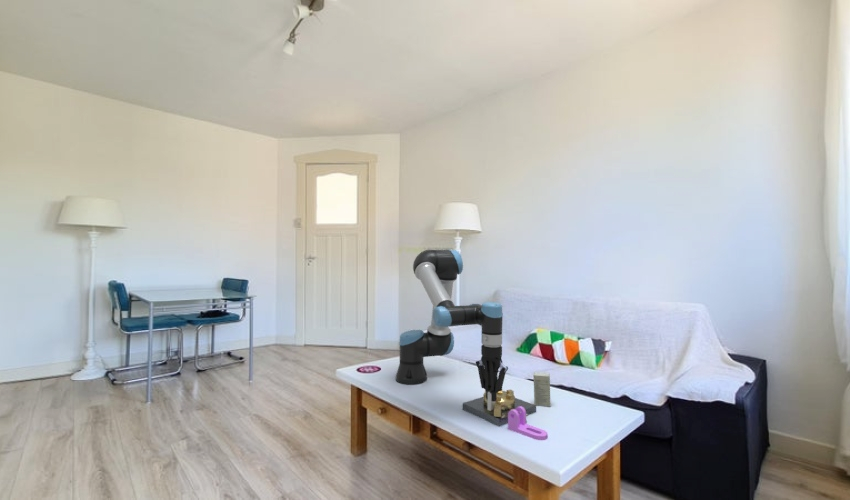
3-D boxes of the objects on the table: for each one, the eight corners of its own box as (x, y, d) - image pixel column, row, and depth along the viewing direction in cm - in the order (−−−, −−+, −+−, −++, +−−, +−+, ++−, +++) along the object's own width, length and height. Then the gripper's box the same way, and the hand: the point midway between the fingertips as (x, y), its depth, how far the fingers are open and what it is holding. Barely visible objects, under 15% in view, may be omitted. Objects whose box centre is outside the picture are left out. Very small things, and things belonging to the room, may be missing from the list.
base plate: (462, 409, 151) (462, 403, 151) (499, 397, 164) (498, 391, 164) (506, 429, 133) (506, 422, 133) (544, 414, 146) (543, 408, 146)
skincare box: (550, 403, 158) (550, 373, 158) (550, 407, 154) (550, 376, 154) (534, 401, 160) (534, 371, 160) (533, 405, 156) (533, 374, 156)
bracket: (508, 429, 134) (507, 409, 134) (517, 424, 138) (516, 404, 138) (542, 442, 125) (541, 420, 125) (550, 436, 129) (550, 415, 129)
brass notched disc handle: (484, 396, 157) (484, 385, 157) (515, 399, 155) (514, 388, 155) (480, 415, 139) (480, 402, 139) (514, 418, 136) (514, 405, 136)
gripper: (471, 343, 144) (470, 407, 144) (501, 349, 135) (500, 417, 135) (483, 340, 149) (482, 401, 149) (512, 346, 140) (511, 411, 140)
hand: (491, 409), depth 142 cm, fingers closed
